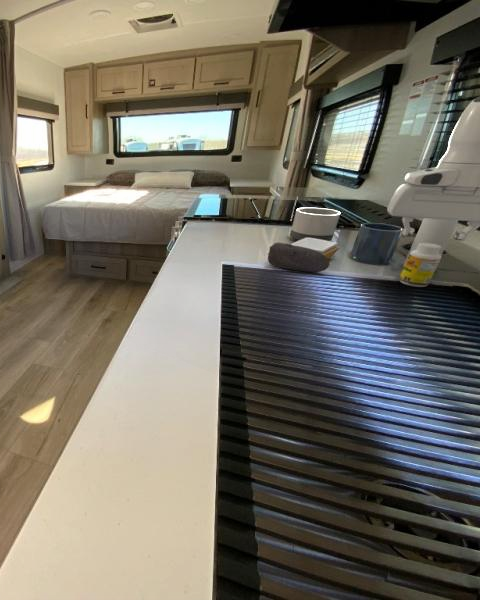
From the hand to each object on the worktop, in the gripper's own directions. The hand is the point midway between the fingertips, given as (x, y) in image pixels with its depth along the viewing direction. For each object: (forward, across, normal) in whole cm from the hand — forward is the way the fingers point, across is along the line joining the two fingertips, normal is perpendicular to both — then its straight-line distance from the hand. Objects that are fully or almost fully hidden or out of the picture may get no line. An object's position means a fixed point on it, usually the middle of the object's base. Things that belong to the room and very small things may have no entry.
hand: (432, 237), depth 79 cm
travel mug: (+12, -5, -11) cm, 17 cm away
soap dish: (+12, +21, -12) cm, 27 cm away
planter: (+12, +19, -34) cm, 41 cm away
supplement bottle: (+12, 0, 0) cm, 12 cm away
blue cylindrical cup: (+12, +5, -18) cm, 22 cm away
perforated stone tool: (+12, +26, 0) cm, 28 cm away
